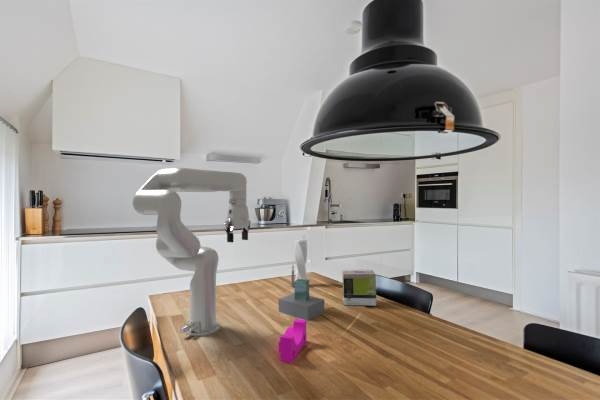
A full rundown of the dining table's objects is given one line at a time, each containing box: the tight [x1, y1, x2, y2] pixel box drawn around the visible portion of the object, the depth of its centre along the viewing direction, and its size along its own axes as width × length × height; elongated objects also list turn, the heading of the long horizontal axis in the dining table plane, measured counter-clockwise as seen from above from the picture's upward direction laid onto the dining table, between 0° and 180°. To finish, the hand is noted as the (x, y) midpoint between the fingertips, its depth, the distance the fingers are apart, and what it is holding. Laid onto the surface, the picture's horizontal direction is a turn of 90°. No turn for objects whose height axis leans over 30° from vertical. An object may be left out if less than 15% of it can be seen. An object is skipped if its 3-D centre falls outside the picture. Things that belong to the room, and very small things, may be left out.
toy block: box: [277, 318, 307, 364], centre depth 101 cm, size 15×6×8 cm, turn 162°
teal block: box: [293, 278, 311, 301], centre depth 135 cm, size 5×5×8 cm
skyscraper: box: [290, 235, 308, 287], centre depth 178 cm, size 8×8×28 cm
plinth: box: [278, 292, 325, 322], centre depth 135 cm, size 12×16×6 cm
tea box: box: [341, 269, 377, 307], centre depth 147 cm, size 15×10×15 cm, turn 84°
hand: (237, 240), depth 139 cm, fingers open, 9 cm apart
